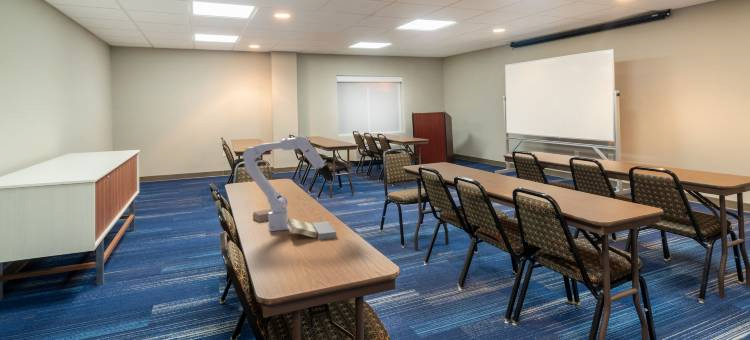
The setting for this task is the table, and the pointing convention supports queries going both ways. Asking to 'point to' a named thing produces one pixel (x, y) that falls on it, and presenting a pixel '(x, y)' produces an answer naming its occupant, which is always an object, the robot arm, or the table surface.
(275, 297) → the table surface
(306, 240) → the table surface
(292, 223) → the cream flat slab
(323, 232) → the board
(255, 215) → the brick
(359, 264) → the table surface
